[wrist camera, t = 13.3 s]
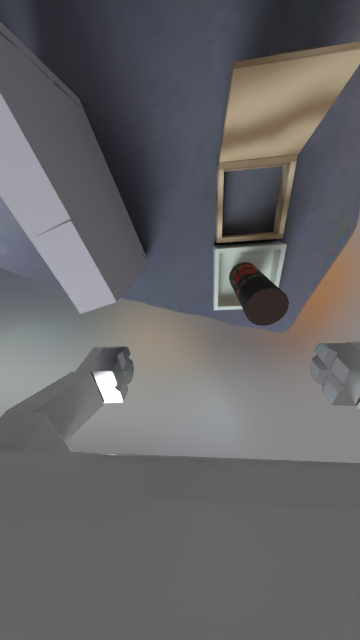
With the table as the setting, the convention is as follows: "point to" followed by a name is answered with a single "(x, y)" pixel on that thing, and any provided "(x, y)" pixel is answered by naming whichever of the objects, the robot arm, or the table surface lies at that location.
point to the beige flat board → (283, 99)
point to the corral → (283, 197)
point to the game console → (62, 182)
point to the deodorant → (257, 294)
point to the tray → (227, 256)
